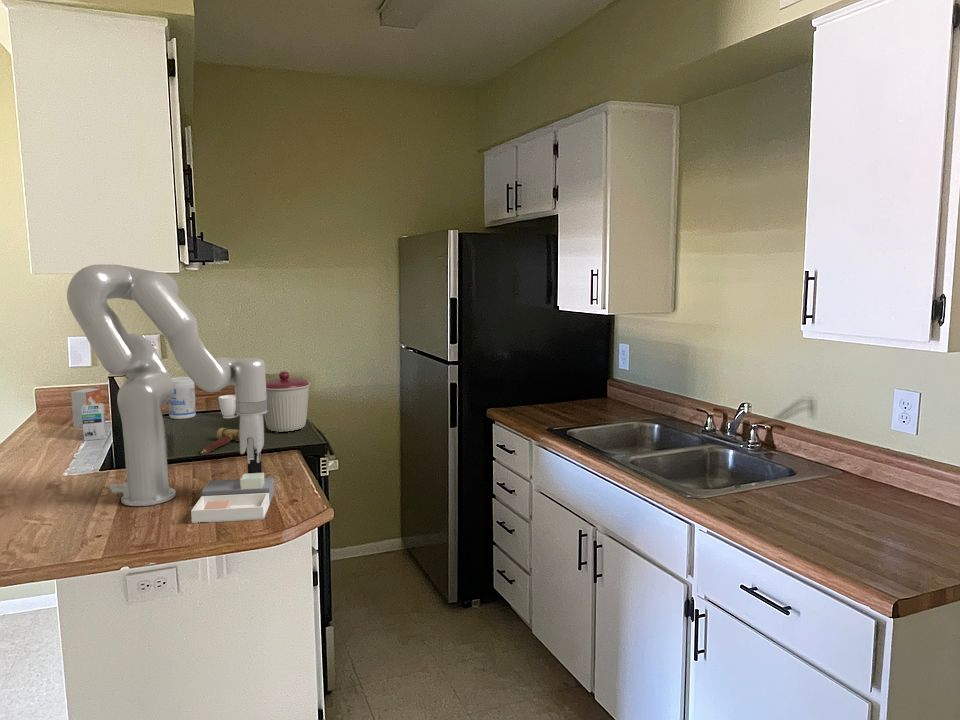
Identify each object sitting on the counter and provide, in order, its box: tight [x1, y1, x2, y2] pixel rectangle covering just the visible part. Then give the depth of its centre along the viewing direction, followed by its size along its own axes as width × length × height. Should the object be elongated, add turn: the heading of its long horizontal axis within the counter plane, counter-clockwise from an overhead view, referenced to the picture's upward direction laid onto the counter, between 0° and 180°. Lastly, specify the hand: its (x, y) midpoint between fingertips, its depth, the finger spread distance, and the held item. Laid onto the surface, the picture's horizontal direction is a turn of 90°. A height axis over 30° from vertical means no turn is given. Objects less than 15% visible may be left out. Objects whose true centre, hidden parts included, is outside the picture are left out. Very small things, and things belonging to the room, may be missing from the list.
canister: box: [263, 370, 311, 433], centre depth 255 cm, size 18×18×21 cm
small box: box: [70, 387, 103, 428], centre depth 265 cm, size 8×6×13 cm
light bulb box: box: [81, 402, 107, 442], centre depth 247 cm, size 11×7×11 cm, turn 26°
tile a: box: [204, 501, 230, 509], centre depth 170 cm, size 5×5×2 cm
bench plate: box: [201, 476, 276, 504], centre depth 182 cm, size 16×9×4 cm, turn 99°
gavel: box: [200, 427, 240, 454], centre depth 233 cm, size 21×5×10 cm
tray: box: [190, 493, 271, 524], centre depth 172 cm, size 16×10×3 cm, turn 99°
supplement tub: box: [168, 377, 197, 420], centre depth 277 cm, size 10×10×15 cm
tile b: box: [239, 472, 265, 489], centre depth 180 cm, size 5×5×2 cm
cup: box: [217, 394, 240, 419], centre depth 277 cm, size 7×10×8 cm
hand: (255, 477), depth 184 cm, fingers closed
